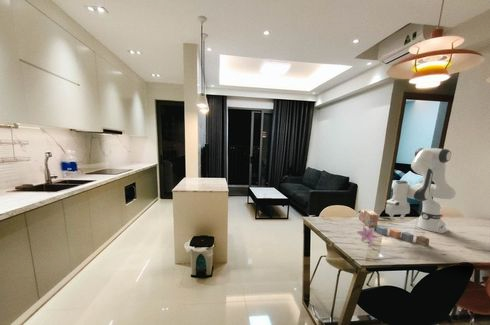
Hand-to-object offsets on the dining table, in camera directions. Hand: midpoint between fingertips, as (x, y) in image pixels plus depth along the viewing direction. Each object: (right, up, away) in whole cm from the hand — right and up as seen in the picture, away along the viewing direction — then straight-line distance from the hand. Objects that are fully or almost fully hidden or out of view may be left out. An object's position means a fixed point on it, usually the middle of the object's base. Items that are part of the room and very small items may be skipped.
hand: (396, 219), depth 151 cm
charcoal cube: (+5, -15, -3) cm, 16 cm away
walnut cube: (+12, -15, -9) cm, 21 cm away
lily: (-28, -14, -7) cm, 32 cm away
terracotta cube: (0, -14, +1) cm, 14 cm away
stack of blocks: (-7, -12, +26) cm, 29 cm away
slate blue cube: (-7, -13, +7) cm, 16 cm away
